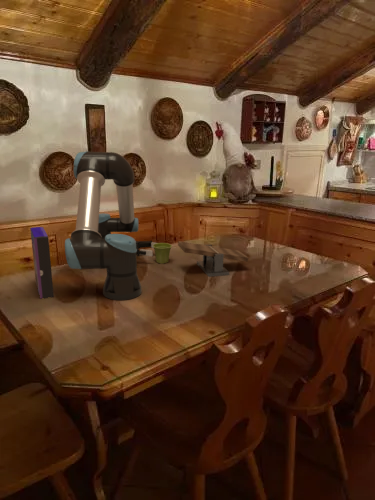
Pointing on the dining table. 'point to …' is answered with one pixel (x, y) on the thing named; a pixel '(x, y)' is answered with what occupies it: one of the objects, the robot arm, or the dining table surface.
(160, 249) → the plant pot
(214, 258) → the beam stand
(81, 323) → the dining table surface
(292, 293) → the dining table surface
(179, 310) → the dining table surface
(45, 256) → the cereal box
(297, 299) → the dining table surface
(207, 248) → the balance beam
